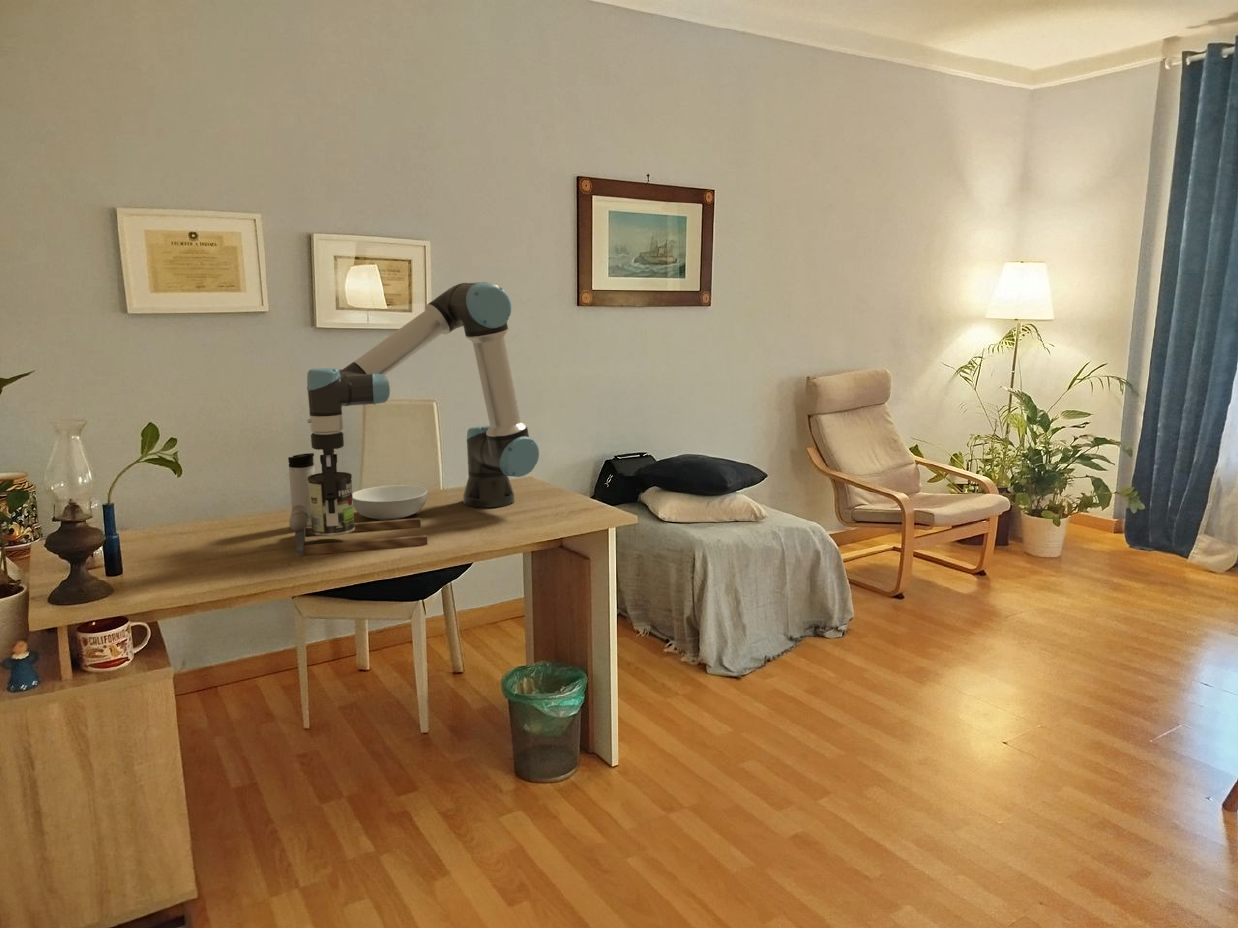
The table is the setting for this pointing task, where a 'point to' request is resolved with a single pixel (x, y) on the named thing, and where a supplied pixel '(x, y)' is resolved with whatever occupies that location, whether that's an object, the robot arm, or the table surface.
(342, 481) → the coffee can
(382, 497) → the serving bowl
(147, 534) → the table surface
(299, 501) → the travel mug
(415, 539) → the bay
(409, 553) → the table surface
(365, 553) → the table surface
